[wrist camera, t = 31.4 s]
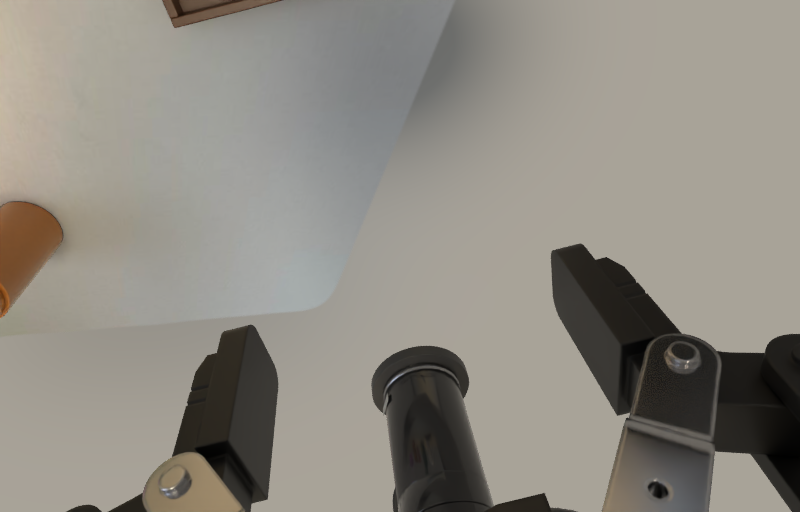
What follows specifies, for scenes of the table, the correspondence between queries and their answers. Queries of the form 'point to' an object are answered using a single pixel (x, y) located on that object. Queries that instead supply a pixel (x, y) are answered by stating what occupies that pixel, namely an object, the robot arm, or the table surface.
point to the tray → (206, 9)
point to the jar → (24, 247)
